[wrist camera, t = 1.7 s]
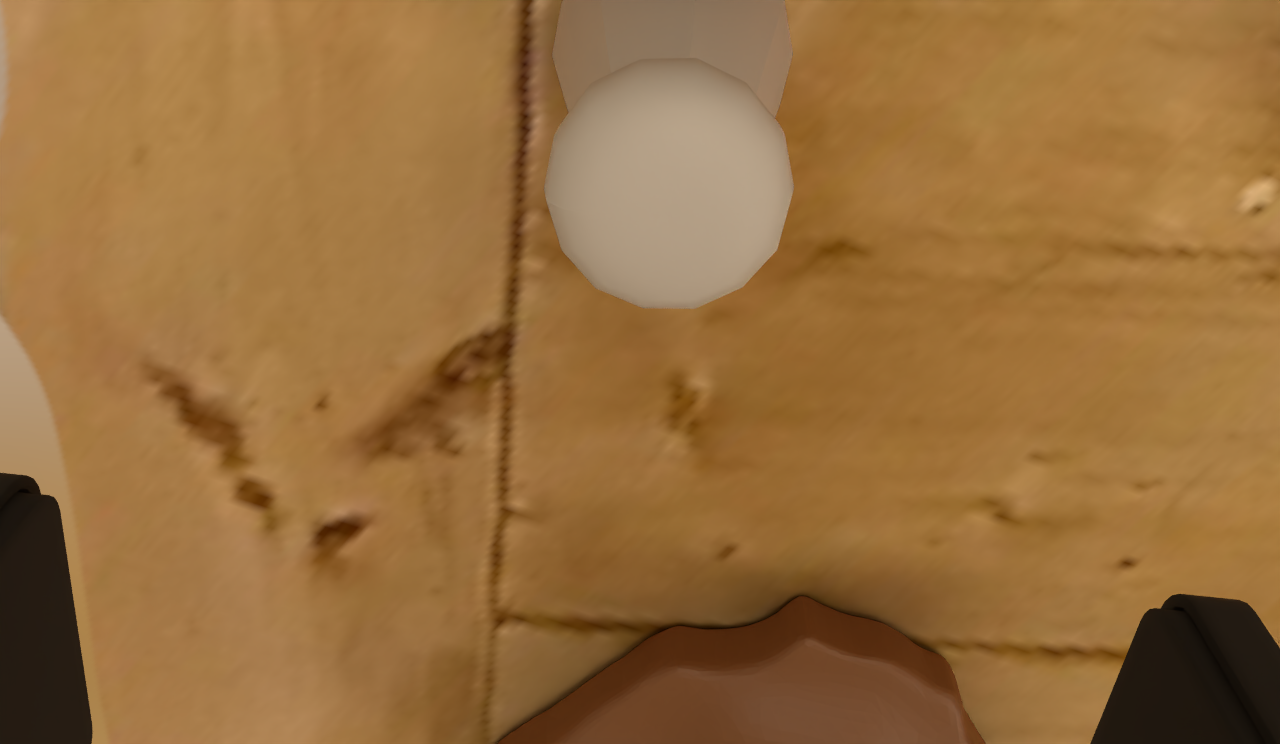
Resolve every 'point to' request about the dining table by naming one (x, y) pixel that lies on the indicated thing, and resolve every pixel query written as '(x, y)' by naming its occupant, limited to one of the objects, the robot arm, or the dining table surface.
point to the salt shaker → (670, 145)
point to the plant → (766, 688)
